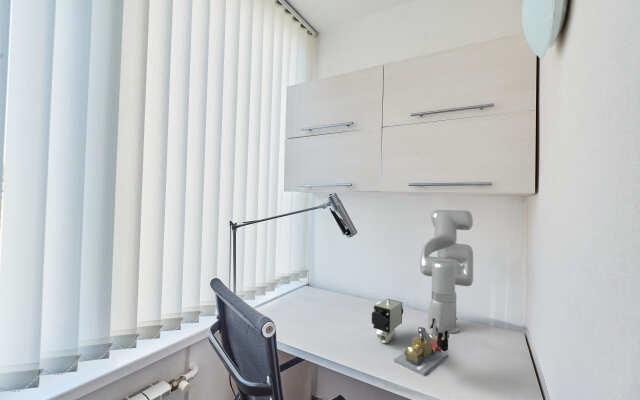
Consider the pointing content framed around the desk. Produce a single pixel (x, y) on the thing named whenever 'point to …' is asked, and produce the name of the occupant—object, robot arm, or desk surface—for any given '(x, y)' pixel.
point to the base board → (427, 362)
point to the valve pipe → (419, 349)
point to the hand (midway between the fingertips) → (442, 349)
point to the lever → (429, 340)
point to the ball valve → (387, 319)
